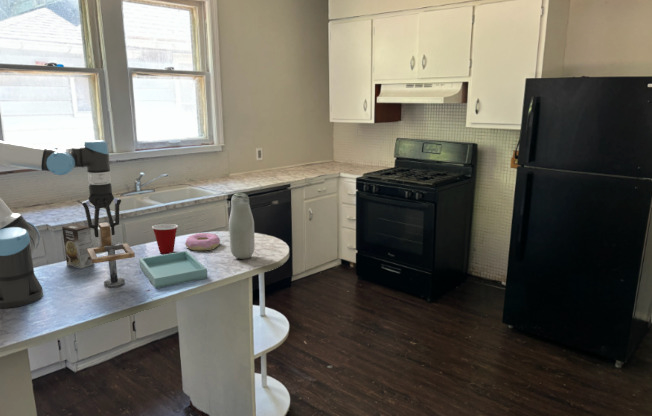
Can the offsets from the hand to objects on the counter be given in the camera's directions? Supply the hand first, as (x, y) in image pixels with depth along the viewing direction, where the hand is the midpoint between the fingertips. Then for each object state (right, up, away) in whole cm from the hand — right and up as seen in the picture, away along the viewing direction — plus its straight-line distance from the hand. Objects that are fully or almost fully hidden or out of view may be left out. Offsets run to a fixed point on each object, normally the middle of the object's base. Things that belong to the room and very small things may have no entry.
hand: (105, 244), depth 181 cm
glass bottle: (+48, -8, +23) cm, 54 cm away
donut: (+27, -4, +38) cm, 47 cm away
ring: (+4, -3, -6) cm, 8 cm away
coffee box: (-16, -9, +14) cm, 23 cm away
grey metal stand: (+6, -14, -6) cm, 16 cm away
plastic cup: (+13, -6, +30) cm, 33 cm away
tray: (+24, -11, +5) cm, 27 cm away
